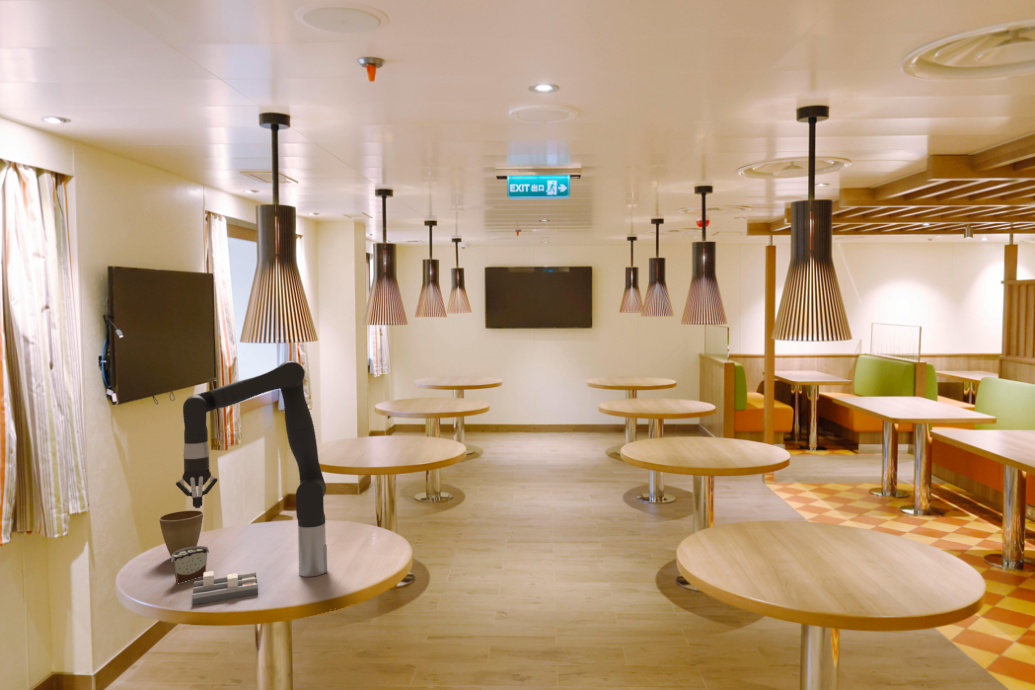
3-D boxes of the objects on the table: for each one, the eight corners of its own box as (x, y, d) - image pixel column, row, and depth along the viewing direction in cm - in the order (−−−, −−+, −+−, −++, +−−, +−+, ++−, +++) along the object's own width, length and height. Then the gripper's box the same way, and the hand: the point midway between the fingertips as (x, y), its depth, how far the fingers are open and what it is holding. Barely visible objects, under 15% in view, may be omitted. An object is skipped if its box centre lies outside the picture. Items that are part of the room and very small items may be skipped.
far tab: (214, 582, 213) (213, 570, 213) (213, 587, 209) (213, 575, 209) (203, 584, 211) (203, 572, 211) (203, 589, 207) (203, 576, 207)
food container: (201, 571, 230) (201, 543, 229) (209, 575, 226) (209, 546, 225) (165, 581, 220) (164, 552, 220) (172, 585, 216) (172, 556, 216)
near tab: (237, 585, 210) (237, 573, 210) (238, 589, 206) (237, 577, 206) (227, 586, 209) (227, 574, 209) (227, 591, 205) (227, 579, 205)
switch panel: (256, 581, 219) (256, 572, 219) (258, 594, 208) (257, 584, 208) (194, 591, 211) (193, 581, 211) (192, 605, 200) (192, 594, 200)
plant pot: (212, 550, 252) (211, 509, 252) (188, 563, 237) (187, 520, 237) (176, 549, 253) (175, 509, 253) (151, 563, 239) (150, 520, 238)
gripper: (218, 452, 219) (219, 502, 219) (174, 455, 214) (175, 507, 214) (218, 455, 212) (219, 508, 212) (173, 459, 207) (174, 513, 207)
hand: (197, 507), depth 213 cm, fingers closed
